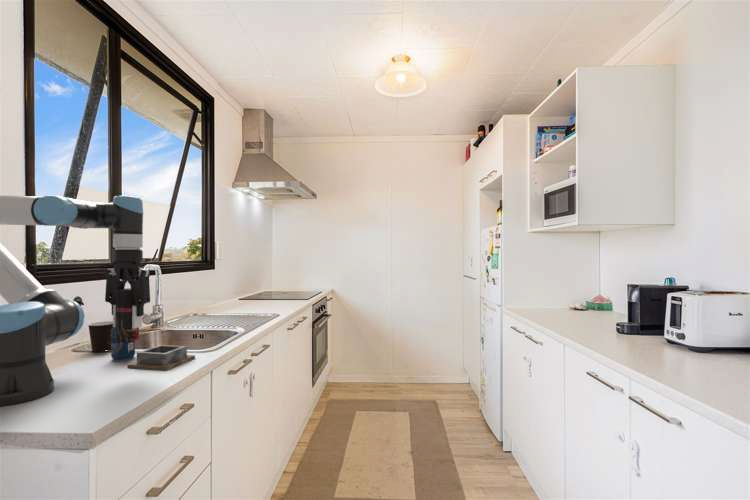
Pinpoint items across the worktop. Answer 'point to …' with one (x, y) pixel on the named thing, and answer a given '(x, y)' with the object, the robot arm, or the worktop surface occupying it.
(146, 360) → the socket
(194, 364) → the worktop surface
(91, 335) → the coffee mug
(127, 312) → the deodorant
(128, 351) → the soda can
